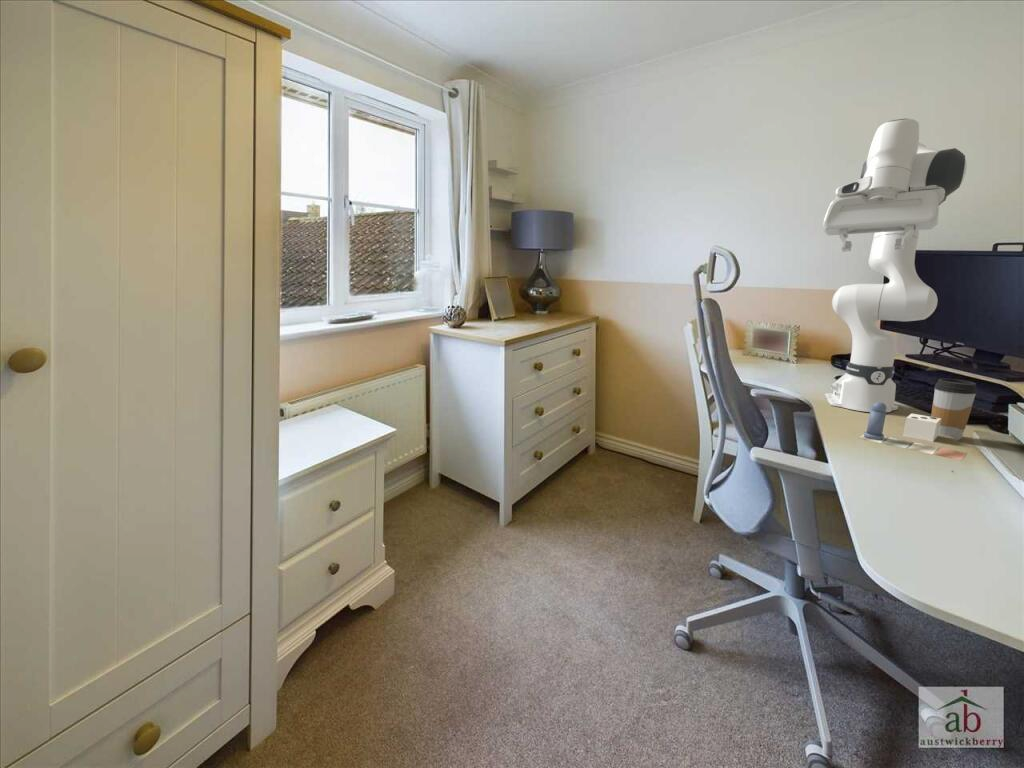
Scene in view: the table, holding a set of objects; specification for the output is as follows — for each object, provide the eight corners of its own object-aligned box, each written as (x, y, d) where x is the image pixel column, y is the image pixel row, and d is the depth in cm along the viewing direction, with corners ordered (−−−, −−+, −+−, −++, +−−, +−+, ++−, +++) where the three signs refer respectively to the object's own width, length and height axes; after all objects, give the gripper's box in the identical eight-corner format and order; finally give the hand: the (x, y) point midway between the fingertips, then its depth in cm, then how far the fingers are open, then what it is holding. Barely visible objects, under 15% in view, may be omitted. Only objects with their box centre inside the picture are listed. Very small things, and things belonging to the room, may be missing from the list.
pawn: (861, 434, 126) (867, 399, 124) (878, 435, 125) (885, 400, 123) (868, 439, 122) (874, 403, 120) (886, 440, 121) (893, 404, 119)
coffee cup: (933, 430, 134) (944, 377, 130) (972, 439, 127) (985, 383, 123) (918, 434, 130) (929, 380, 127) (957, 444, 123) (970, 386, 119)
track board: (852, 442, 124) (853, 437, 123) (861, 435, 129) (862, 431, 129) (966, 467, 108) (967, 462, 108) (971, 458, 113) (973, 453, 113)
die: (901, 439, 126) (906, 417, 124) (907, 435, 130) (911, 413, 128) (931, 446, 121) (936, 422, 120) (936, 440, 125) (941, 418, 124)
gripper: (946, 191, 102) (934, 253, 101) (833, 203, 116) (821, 257, 115) (947, 175, 98) (934, 239, 97) (828, 189, 112) (816, 245, 110)
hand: (871, 249), depth 106 cm, fingers open, 8 cm apart
